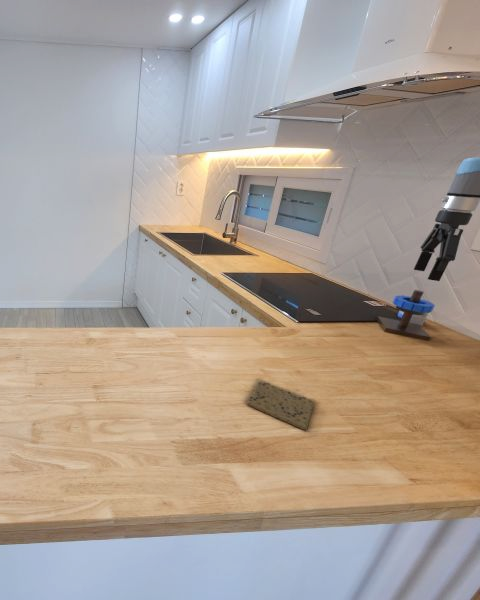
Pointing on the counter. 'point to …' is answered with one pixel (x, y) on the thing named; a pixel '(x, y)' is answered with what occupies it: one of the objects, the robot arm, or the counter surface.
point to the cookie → (282, 404)
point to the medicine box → (415, 318)
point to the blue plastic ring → (413, 304)
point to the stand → (405, 321)
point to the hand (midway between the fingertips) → (425, 275)
